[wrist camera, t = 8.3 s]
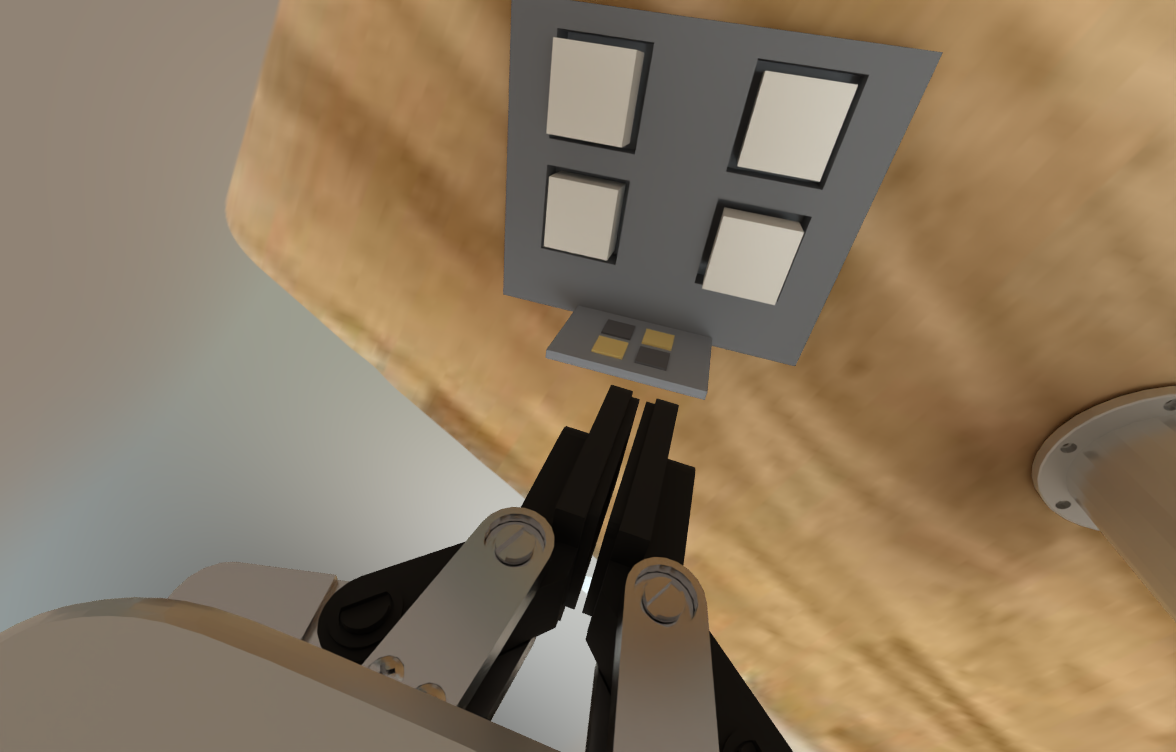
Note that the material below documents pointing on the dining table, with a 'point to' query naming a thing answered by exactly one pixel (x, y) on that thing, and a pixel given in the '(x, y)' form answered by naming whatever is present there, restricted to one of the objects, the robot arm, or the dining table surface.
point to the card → (634, 351)
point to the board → (697, 168)
